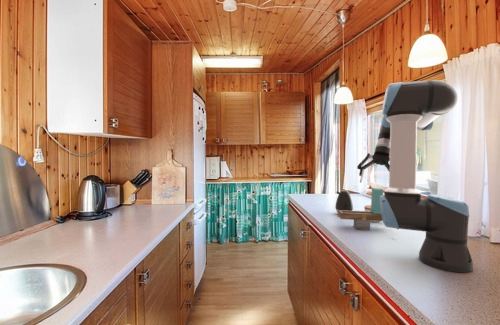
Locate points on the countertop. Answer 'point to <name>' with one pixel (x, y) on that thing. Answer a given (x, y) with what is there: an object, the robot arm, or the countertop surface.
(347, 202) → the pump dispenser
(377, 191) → the block
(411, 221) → the robot arm
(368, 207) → the lidded jar
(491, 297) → the countertop surface
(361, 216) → the beam
